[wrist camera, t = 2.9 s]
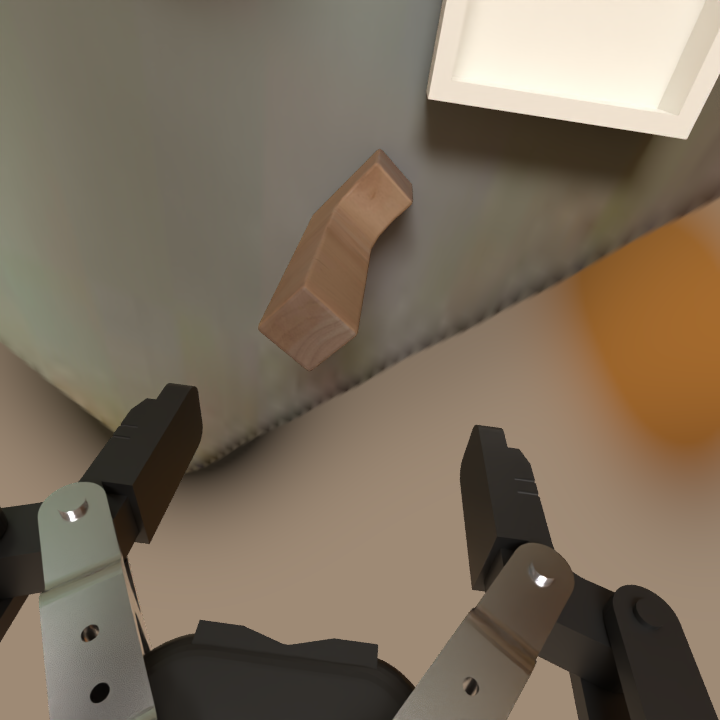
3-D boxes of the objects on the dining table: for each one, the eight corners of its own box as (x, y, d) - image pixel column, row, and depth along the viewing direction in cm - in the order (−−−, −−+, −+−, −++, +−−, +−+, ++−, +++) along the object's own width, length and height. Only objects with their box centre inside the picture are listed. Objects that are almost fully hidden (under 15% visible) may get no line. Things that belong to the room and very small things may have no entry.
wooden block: (344, 248, 34) (309, 374, 22) (311, 215, 33) (254, 329, 21) (413, 185, 31) (417, 290, 19) (380, 146, 30) (360, 232, 18)
